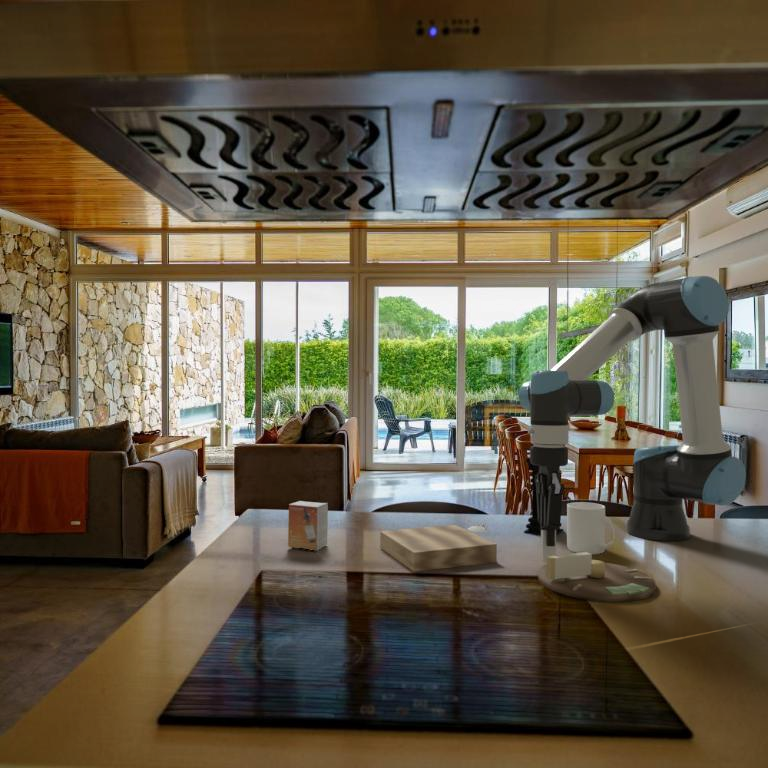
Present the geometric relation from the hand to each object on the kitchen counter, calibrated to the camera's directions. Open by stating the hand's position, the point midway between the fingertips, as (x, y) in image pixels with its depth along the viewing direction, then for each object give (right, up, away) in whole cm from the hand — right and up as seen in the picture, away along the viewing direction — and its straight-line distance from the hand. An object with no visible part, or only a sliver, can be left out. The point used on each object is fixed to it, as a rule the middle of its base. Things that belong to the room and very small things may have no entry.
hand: (548, 560), depth 126 cm
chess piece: (+9, -4, +37) cm, 38 cm away
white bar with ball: (+4, -2, -5) cm, 7 cm away
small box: (-52, -3, +23) cm, 57 cm away
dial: (+8, -3, -4) cm, 10 cm away
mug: (+15, -4, +19) cm, 24 cm away
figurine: (-8, -11, +40) cm, 42 cm away
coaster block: (-22, -3, +16) cm, 27 cm away
